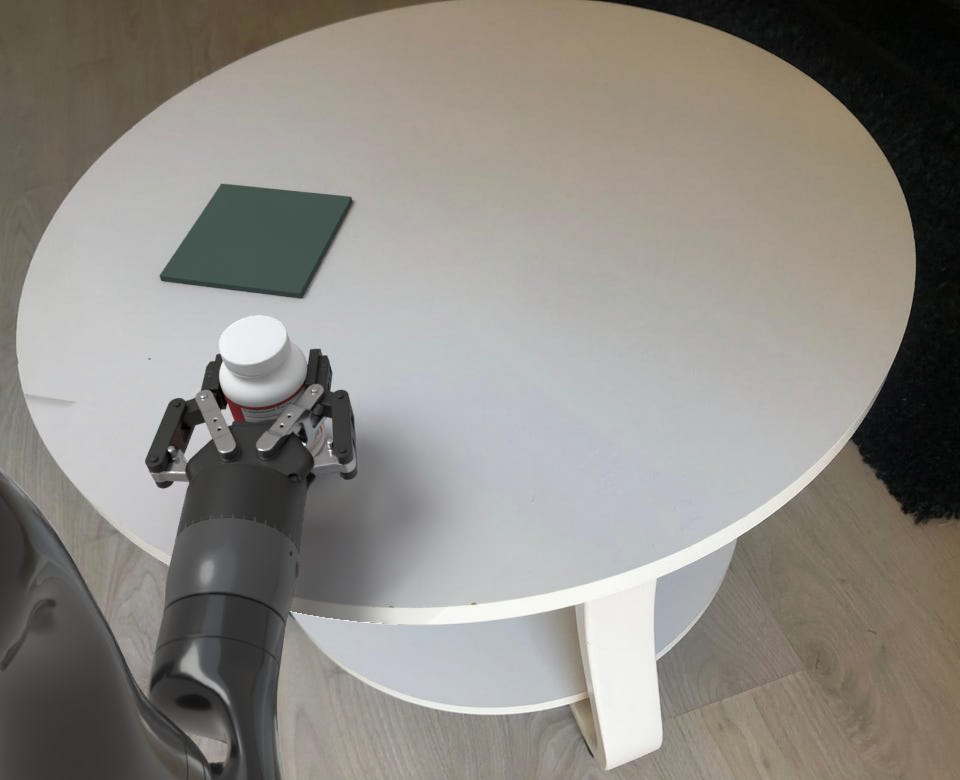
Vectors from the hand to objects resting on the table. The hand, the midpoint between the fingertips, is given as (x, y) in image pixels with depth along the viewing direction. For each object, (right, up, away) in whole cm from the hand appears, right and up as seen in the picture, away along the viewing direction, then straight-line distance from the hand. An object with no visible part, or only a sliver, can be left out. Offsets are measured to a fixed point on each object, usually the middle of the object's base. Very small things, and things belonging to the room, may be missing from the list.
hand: (271, 359), depth 72 cm
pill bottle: (+1, -6, +3) cm, 7 cm away
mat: (-6, +12, +23) cm, 26 cm away
